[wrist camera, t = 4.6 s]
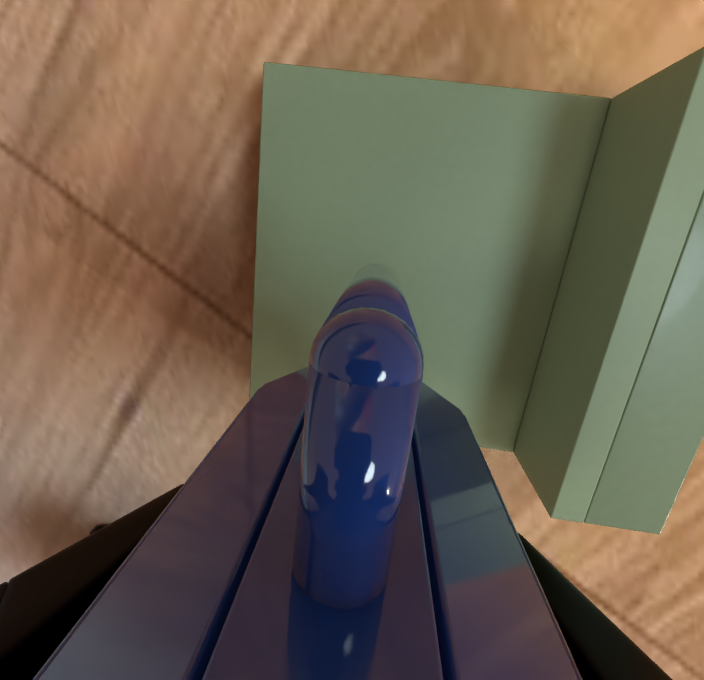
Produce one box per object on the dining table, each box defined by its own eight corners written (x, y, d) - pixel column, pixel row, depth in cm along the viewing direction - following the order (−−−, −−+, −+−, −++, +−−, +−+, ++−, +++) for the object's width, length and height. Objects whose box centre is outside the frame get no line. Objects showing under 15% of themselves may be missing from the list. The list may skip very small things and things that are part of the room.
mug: (222, 566, 11) (-28, 1091, 4) (227, 238, 8) (-385, 279, 2) (456, 602, 11) (579, 1224, 4) (536, 274, 8) (1266, 494, 1)
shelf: (267, 387, 22) (210, 465, 15) (284, 89, 18) (214, -5, 10) (567, 430, 21) (661, 535, 14) (664, 130, 17) (871, 59, 10)
